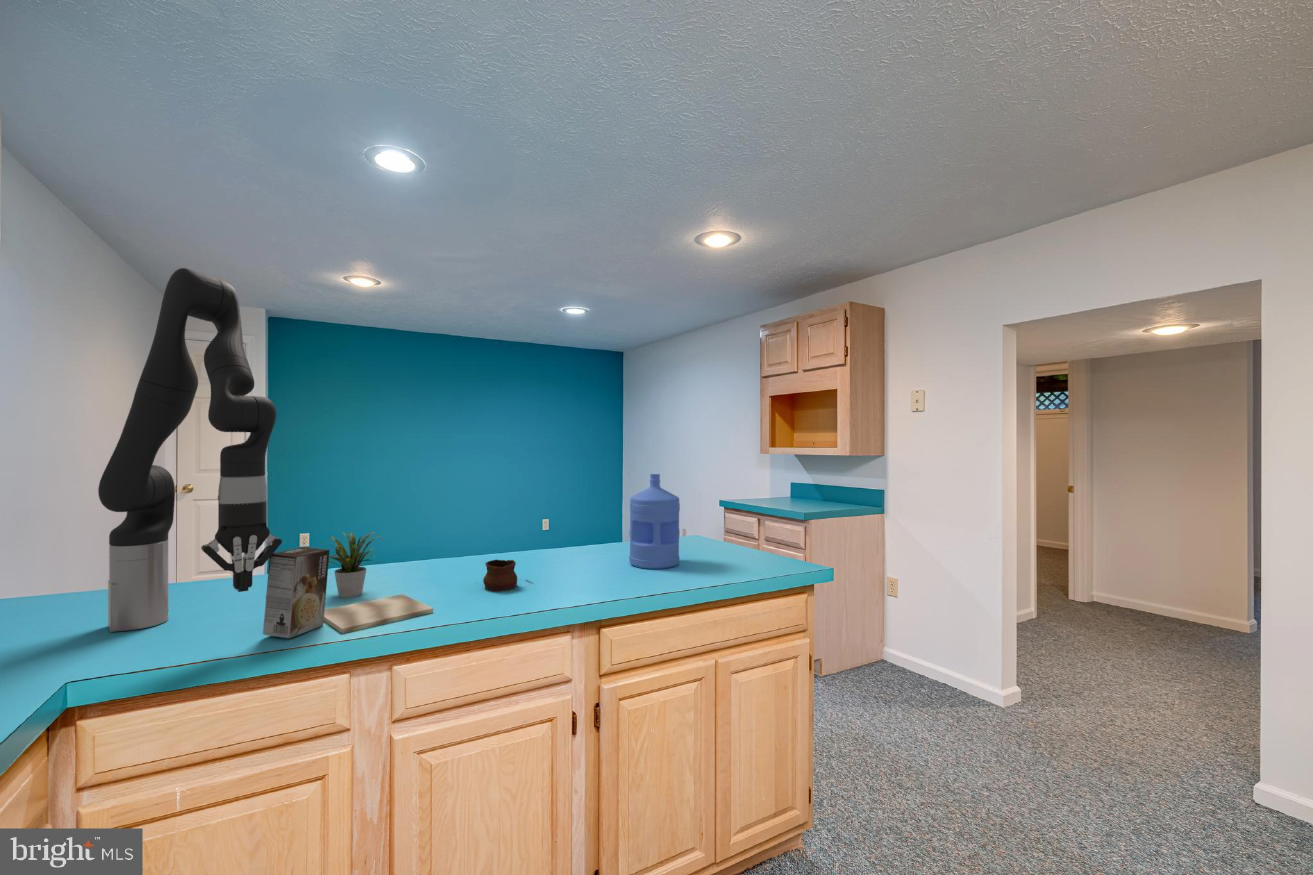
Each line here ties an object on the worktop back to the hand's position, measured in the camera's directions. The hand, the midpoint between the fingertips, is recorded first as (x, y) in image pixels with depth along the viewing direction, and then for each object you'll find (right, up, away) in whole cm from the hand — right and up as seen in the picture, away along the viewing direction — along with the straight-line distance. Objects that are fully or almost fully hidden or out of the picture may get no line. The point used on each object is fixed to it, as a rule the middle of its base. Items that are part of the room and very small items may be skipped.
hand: (242, 590), depth 110 cm
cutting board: (+16, -10, +19) cm, 27 cm away
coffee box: (+5, -10, +7) cm, 13 cm away
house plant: (+4, -10, +35) cm, 36 cm away
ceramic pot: (+38, -11, +42) cm, 57 cm away
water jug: (+78, -10, +70) cm, 106 cm away
